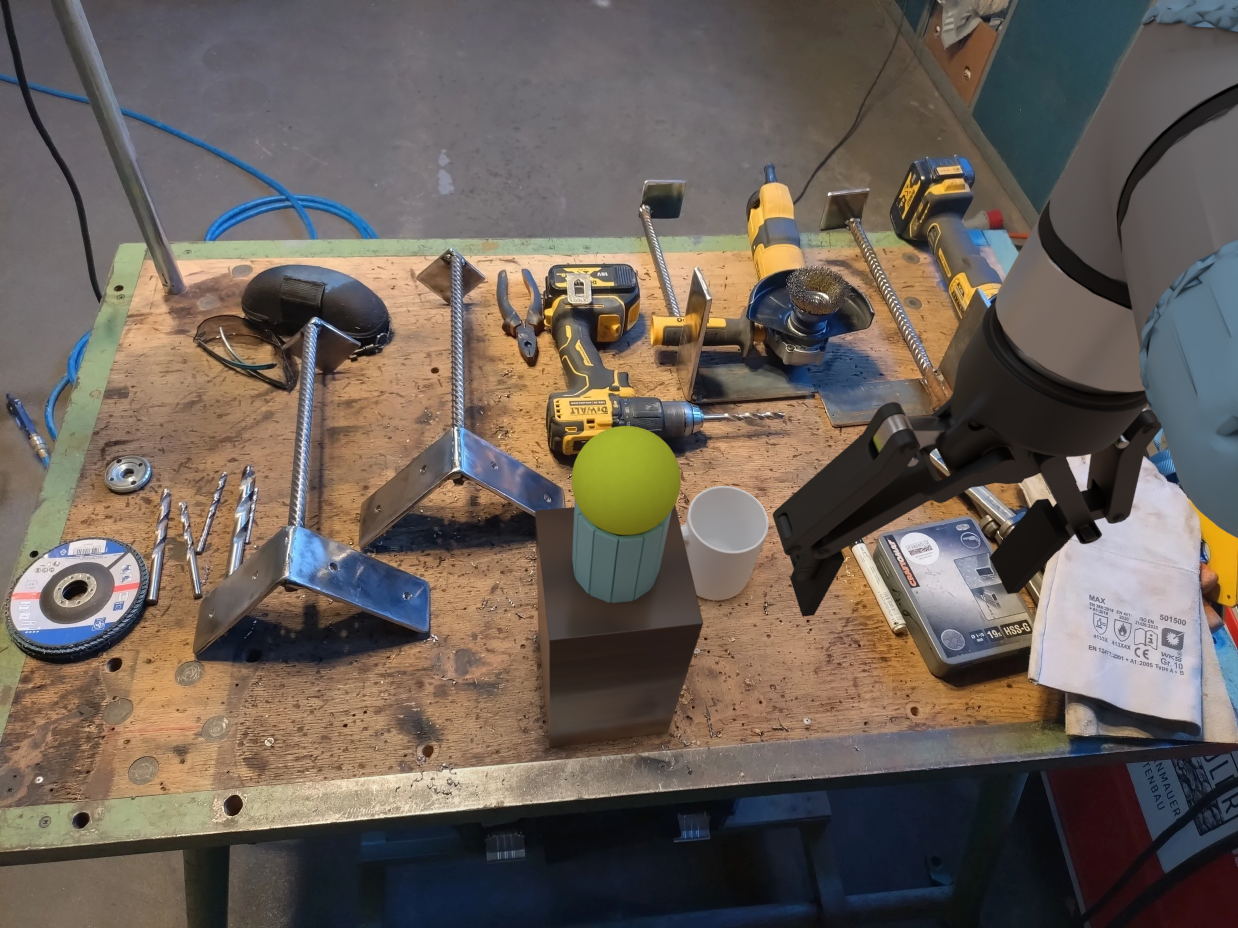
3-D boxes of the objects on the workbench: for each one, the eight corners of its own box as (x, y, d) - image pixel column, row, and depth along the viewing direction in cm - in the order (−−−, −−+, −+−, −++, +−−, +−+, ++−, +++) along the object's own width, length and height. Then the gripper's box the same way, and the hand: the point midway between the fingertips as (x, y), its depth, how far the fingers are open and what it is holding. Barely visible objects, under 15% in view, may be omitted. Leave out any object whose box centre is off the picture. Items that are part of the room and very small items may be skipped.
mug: (640, 545, 95) (649, 492, 86) (738, 535, 96) (756, 481, 88) (654, 610, 89) (665, 560, 81) (757, 598, 91) (778, 548, 83)
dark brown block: (668, 732, 81) (703, 623, 62) (549, 748, 79) (548, 640, 60) (647, 625, 88) (674, 498, 69) (538, 637, 87) (535, 510, 68)
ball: (682, 551, 57) (698, 486, 51) (576, 560, 56) (580, 496, 50) (663, 467, 62) (675, 400, 56) (565, 474, 61) (567, 406, 55)
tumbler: (665, 597, 63) (679, 535, 56) (578, 606, 62) (582, 544, 55) (650, 525, 68) (661, 458, 60) (568, 532, 67) (570, 465, 59)
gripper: (1277, 267, 38) (1055, 518, 55) (772, 291, 34) (699, 553, 51) (1393, 381, 34) (1113, 618, 50) (825, 423, 30) (727, 663, 47)
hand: (904, 585), depth 51 cm, fingers open, 13 cm apart
